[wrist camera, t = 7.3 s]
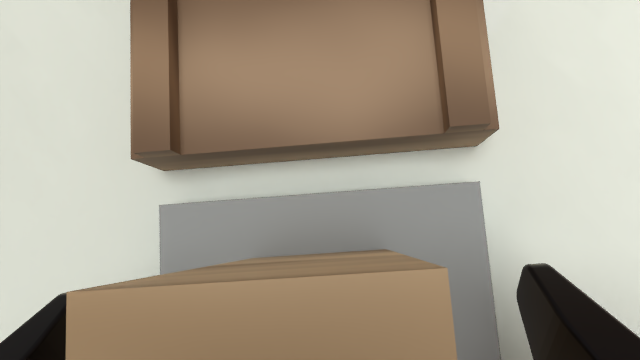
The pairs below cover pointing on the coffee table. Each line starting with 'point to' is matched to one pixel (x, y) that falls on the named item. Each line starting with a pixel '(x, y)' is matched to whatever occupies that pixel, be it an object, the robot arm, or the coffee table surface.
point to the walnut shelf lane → (306, 79)
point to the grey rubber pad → (351, 240)
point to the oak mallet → (271, 311)
